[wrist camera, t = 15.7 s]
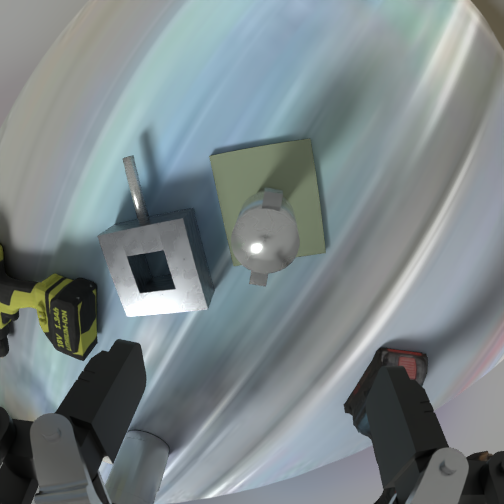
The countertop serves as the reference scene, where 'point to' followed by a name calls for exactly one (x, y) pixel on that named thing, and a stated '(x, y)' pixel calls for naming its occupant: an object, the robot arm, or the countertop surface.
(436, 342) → the countertop surface
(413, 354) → the power drill
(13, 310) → the cordless drill
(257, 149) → the mat
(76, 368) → the countertop surface
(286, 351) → the countertop surface
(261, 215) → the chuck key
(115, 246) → the block
